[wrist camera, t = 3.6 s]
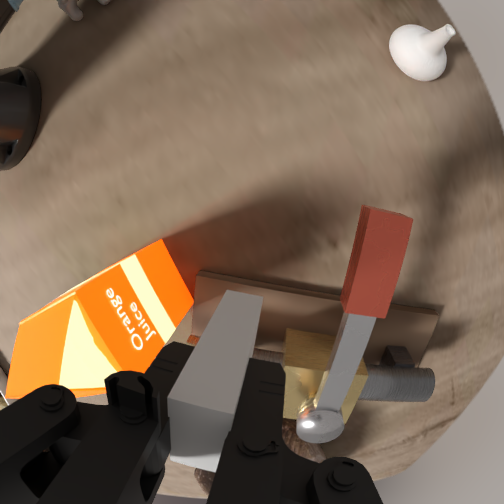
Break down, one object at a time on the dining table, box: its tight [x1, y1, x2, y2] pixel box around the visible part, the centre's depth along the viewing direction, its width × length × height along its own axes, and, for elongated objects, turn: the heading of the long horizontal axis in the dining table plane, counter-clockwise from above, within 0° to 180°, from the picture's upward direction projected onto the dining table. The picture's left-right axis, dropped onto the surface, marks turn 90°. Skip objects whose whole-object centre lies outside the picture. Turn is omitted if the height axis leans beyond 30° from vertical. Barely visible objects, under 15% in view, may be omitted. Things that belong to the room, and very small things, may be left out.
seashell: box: [194, 418, 327, 496], centre depth 32 cm, size 16×17×15 cm
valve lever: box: [296, 205, 413, 443], centre depth 18 cm, size 18×4×2 cm, turn 171°
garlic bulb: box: [389, 24, 456, 81], centre depth 18 cm, size 6×6×8 cm
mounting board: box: [191, 270, 439, 367], centre depth 31 cm, size 12×26×2 cm, turn 81°
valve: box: [186, 328, 435, 424], centre depth 26 cm, size 6×24×9 cm, turn 81°
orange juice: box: [5, 239, 194, 399], centre depth 22 cm, size 8×9×20 cm
